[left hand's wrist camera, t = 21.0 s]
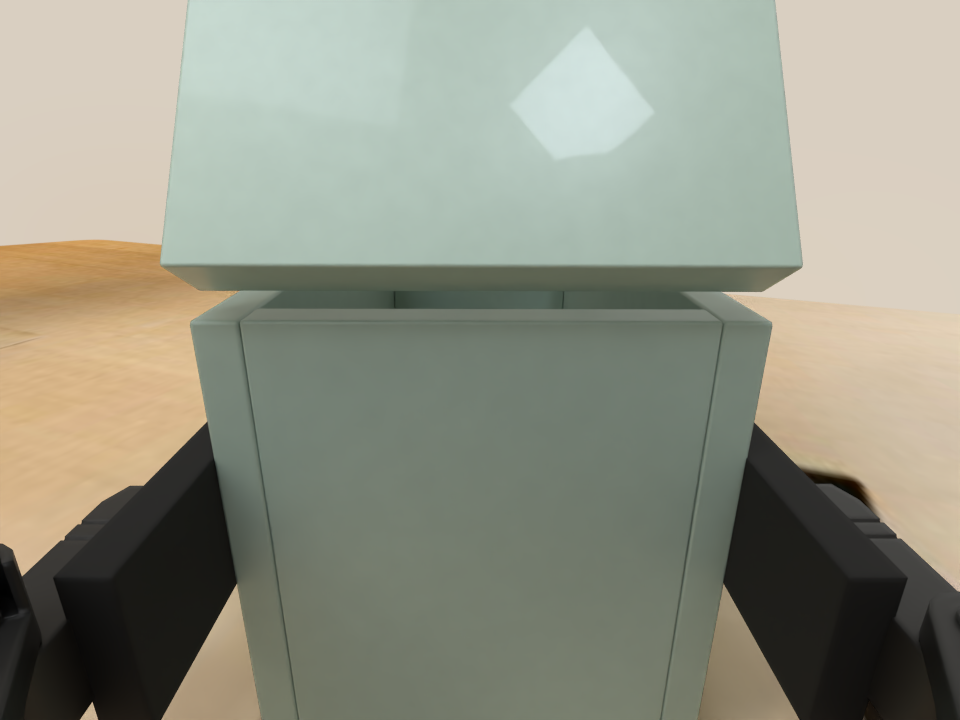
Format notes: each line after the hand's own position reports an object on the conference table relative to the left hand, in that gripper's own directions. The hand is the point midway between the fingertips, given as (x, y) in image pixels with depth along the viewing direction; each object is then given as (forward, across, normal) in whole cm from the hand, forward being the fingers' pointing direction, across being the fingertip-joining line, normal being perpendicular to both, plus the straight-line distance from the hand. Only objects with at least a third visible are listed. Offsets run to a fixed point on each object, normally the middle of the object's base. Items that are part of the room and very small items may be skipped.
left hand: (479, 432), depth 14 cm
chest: (+5, 0, -6) cm, 8 cm away
